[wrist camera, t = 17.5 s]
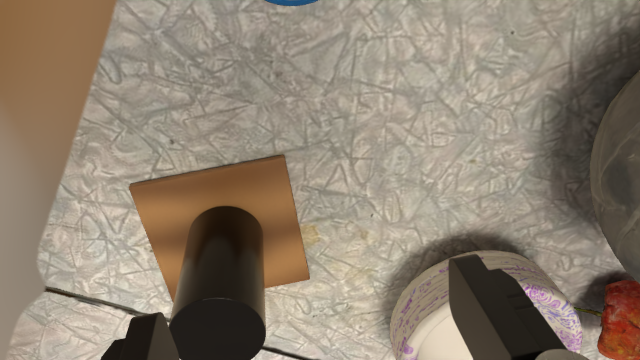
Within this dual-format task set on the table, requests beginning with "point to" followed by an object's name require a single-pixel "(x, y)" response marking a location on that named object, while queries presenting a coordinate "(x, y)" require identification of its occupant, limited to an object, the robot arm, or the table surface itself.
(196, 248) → the black cylinder
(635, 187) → the bowl
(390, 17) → the table surface
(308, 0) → the beverage can
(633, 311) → the pomegranate
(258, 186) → the cork mat
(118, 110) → the table surface
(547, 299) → the paper bowls
